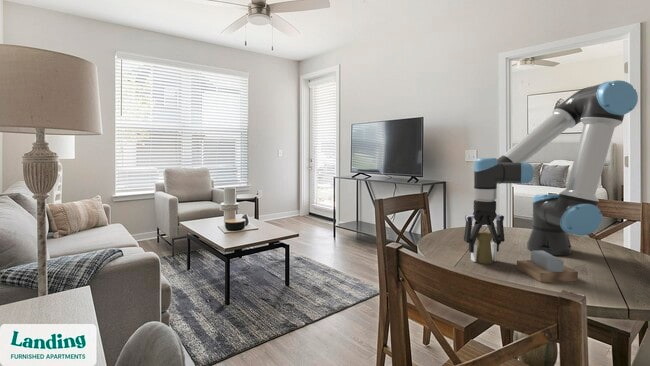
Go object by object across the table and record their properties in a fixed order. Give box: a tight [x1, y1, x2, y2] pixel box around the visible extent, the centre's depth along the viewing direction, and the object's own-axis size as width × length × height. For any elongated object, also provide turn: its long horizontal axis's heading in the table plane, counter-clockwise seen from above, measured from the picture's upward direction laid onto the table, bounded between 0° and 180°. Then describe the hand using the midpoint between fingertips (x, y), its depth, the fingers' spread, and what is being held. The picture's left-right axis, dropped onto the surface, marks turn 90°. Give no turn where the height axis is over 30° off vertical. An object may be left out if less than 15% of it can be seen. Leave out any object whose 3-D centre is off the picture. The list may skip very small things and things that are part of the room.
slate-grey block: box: [530, 250, 565, 272], centre depth 109 cm, size 4×11×4 cm, turn 176°
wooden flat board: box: [516, 259, 579, 283], centre depth 109 cm, size 12×12×4 cm
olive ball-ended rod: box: [475, 231, 494, 265], centre depth 123 cm, size 6×6×11 cm
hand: (483, 260), depth 124 cm, fingers open, 7 cm apart
